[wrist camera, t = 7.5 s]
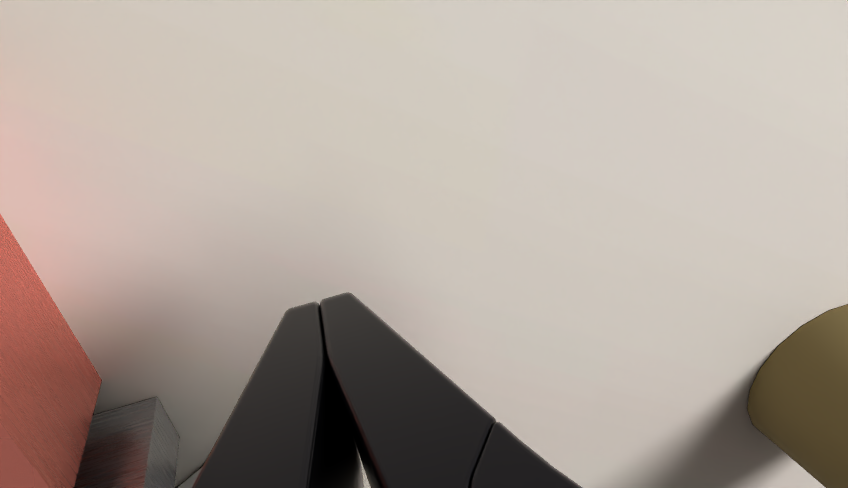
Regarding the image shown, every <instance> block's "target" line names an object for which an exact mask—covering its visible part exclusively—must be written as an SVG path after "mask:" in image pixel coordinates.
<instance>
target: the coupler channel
mask: <svg viewBox="0 0 848 488" xmlns="http://www.w3.org/2000/svg"><path fill="white" fill-rule="evenodd" d="M178 446H179V435H178V434H177V432H176V430H175V428H174V426H173V425H172V423H171V421H170V419H169V417H168V416H167V414H166V412H165V410H164V408H163V407H162V405H161V403H160V401H159V399H158V398H157V397H154V398H151V399H147V400H144V401H140V402H137V403H134V404H130V405H127V406H123V407H120V408H116V409H113V410H109V411H106V412H103V413H99V414H96V415H93V416H92V420H91V424H90V428H89V431H88V435H87V439H86V443H85V447H84V451H83V454H82V458H81V462H80V466H79V470H78V473H77V477H76V481H75V485H74V488H174V486H175V476H176V466H177V456H178Z"/></svg>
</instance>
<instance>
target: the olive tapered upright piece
mask: <svg viewBox="0 0 848 488" xmlns="http://www.w3.org/2000/svg"><path fill="white" fill-rule="evenodd" d="M747 410H748V413H749V416H750V419H751V421H752V424H753V425H754V426H755V427H756V428H757V429H758V430H759V431H761V432H762V433H763V434H764V435H765V436H766V437H768V438H769V439H770V440H771V441H772V442H773V443H775V444H776V445H777V446H778V447H779V448H780V449H782V450H783V451H784V452H785V453H786V454H787V455H789V456H790V457H791V458H792V459H793V460H794V461H796V462H797V463H798V464H799V465H800V466H801V467H803V468H804V469H805V470H806V471H807V472H808V473H810V474H811V475H812V476H813V477H814V478H815V479H817V480H818V481H819V482H820V483H821V484H822V485H823V486H825V487H826V488H848V304H847V305H844V306H841V307H838V308H835V309H832V310H829V311H827V312H825V313H824V314H822V315H820V316H818V317H817V318H815V319H813V320H811V321H810V322H808V323H806V324H804V325H803V326H801V327H800V328H799V329H798V330H797V331H795V332H794V333H793V334H792V335H791V336H790V337H788V338H787V339H786V340H785V341H784V342H782V343H781V344H780V345H779V346H778V347H777V348H776V349H775V351H774V352H773V353H772V354H771V356H770V357H769V358H768V359H767V361H766V362H765V363H764V364H763V366H762V367H761V368H760V370H759V372H758V374H757V376H756V378H755V380H754V382H753V385H752V387H751V389H750V392H749V400H748V408H747Z"/></svg>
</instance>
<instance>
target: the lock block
mask: <svg viewBox="0 0 848 488" xmlns="http://www.w3.org/2000/svg"><path fill="white" fill-rule="evenodd" d="M101 382H102V380H101V378H100V377H99V375H98V373H97V372H96V370H95V368H94V367H93V365H92V363H91V362H90V360H89V359H88V357H87V355H86V354H85V352H84V350H83V349H82V347H81V345H80V344H79V342H78V340H77V339H76V337H75V336H74V334H73V332H72V331H71V329H70V327H69V326H68V324H67V322H66V321H65V319H64V318H63V316H62V314H61V313H60V311H59V309H58V308H57V306H56V304H55V303H54V301H53V300H52V298H51V296H50V295H49V293H48V291H47V290H46V288H45V286H44V285H43V283H42V282H41V280H40V278H39V277H38V275H37V273H36V272H35V270H34V268H33V267H32V265H31V264H30V262H29V260H28V259H27V257H26V255H25V254H24V252H23V250H22V249H21V247H20V245H19V244H18V242H17V241H16V239H15V237H14V236H13V234H12V232H11V231H10V229H9V227H8V226H7V224H6V223H5V221H4V219H3V218H2V216H1V214H0V488H74V485H75V481H76V477H77V473H78V470H79V466H80V462H81V458H82V454H83V451H84V447H85V443H86V439H87V435H88V431H89V428H90V424H91V420H92V416H93V412H94V408H95V405H96V401H97V397H98V393H99V389H100V385H101Z"/></svg>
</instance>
